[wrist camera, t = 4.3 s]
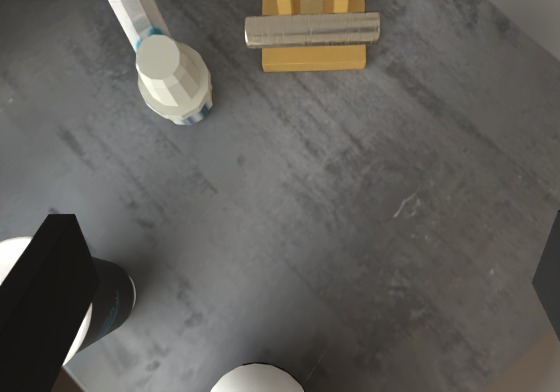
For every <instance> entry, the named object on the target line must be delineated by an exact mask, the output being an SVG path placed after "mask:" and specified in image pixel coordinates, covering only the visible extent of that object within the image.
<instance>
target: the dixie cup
mask: <svg viewBox="0 0 560 392" xmlns="http://www.w3.org/2000/svg"><path fill="white" fill-rule="evenodd" d="M32 238H33V237H32V236H23V237H15V238H11V239H8V240H5V241H2V242H0V285H1V283H2V282H3V281H4V279H5V278H6V276H7V275H8V273H9V272H10V270H11V269H12V267H13V266H14V264H15V263H16V261H17V260H18V259H19V257H20V256H21V254H22V253H23V251H24V250H25V248H26V247H27V245H28V244H29V242H30V241H31V240H32ZM92 259H93V262H94V264H95V267H96V269H97V272H98V275H99V277H100V280H101V284H100V286H99V288H98V290H97V292H96V295H95V297H94V299H93V301H92V303H91V305H90V308H89V310H88V312H87V314H86V316H85V318H84V320H83V323H82V325H81V327H80V329H79V331H78V333H77V335H76V338H75V340H74V342H73V344H72V346H71V348H70V351H69V353H68V355H67V357H66V359H65V361H64V363H63V365H65V364H66V363H67V362H68V361H69V360H70V359H71V358H72V356H73V355H74V354H76V353H78V352H79V351H81V350H83V349H84V348H86V347H88V346H89V345H91V344H92V343H94V342H96V341H97V340H99V339H101V338H102V337H104V336H105V335H107V334H109V333H110V332H112V331H114V330H115V329H117V328H118V327H120V326H121V325H122V324H123V323H124V322H125V321H126V319H127V318H128V316H129V315H130V313H131V311H132V309H133V307H134V304H135V299H136V291H135V286H134V283H133V281H132V279H131V277H130V276H129V275H128V274H127V273H126V271H125V270H124V269H122V268H121V267H120V266H118V265H117V264H115V263H112V262H109V261H105V260H102V259H98V258H95V257H92Z"/></svg>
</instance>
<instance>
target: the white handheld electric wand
mask: <svg viewBox="0 0 560 392" xmlns="http://www.w3.org/2000/svg"><path fill="white" fill-rule="evenodd" d="M108 1H109V3H110V5H111V6H112V8H113V10H114V12H115V14H116V16H117V18H118V20H119V21H120V23H121V25H122V27H123V29H124V31H125V33H126V35H127V37H128V38H129V40H130V42H131V44H132V46H133V48H134V50H135V52H136V68H137V70H138V72H139V75H138V87H139V89H140V92H141V94H142V96H143V98H144V100H145V102H146V104H147V105H148V106H149V107H150V108H151V109H153V110H154V111H155V112H157V113H158V114H160V115H161V116H163V117H164V118H167V119H170V120H172V121H173V122H174V123H175V124H182V125H192V124H194V123H196V122H198V121H200V120H202V119H204V118H205V117H206V115H207V113H208V112H209V110H210V108H211V107H212V105H213V104H212V88H213V87H212V85H211V74H210V73H209V71H208V69H207V67H206V65H205V63H204V61H203V59H202V57H201V56H200V54H199V53H198V52H197V51H195V50H193V49H192V48H190V47H189V46H187V45H186V44H184V43H178V42H176V41H175V40H173V38H172V36H171V34H170V32H169V30H168V28H167V26H166V24H165V21H164V19H163V17H162V15H161V13H160V11H159V9H158V7H157V5H156V2H155V0H108Z"/></svg>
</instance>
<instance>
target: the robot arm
mask: <svg viewBox="0 0 560 392" xmlns="http://www.w3.org/2000/svg"><path fill="white" fill-rule="evenodd" d="M100 284H101V280H100V277H99V275H98V272H97V269H96V267H95V264H94V262H93V259H92V257H91V254H90V252H89V249H88V246H87V244H86V241H85V239H84V236H83V234H82V231H81V229H80V226H79V223H78V221H77V218H76V216H75V214H49V215H48V216H47V218H46V219H45V220H44V222H43V223H42V225H41V226H40V228H39V229H38V231H37V232H36V234H35V235H34V237H33V238H32V240H31V241H30V242H29V244H28V245H27V247H26V248H25V250H24V251H23V253H22V254H21V256H20V257H19V259H18V260H17V261H16V263H15V264H14V266H13V267H12V269H11V270H10V272H9V273H8V275H7V276H6V278H5V279H4V281H3V282H2V283H1V285H0V392H50V391H51V389H52V387H53V385H54V383H55V380H56V379H57V376H58V374H59V372H60V370H61V368H62V366H63V363H64V361H65V359H66V357H67V355H68V353H69V351H70V348H71V346H72V344H73V342H74V340H75V338H76V335H77V333H78V331H79V329H80V327H81V325H82V323H83V320H84V318H85V316H86V314H87V312H88V310H89V308H90V305H91V303H92V301H93V299H94V297H95V295H96V292H97V290H98V288H99V286H100ZM532 285H533V287H534V289H535V291H536V293H537V295H538V297H539V299H540V301H541V303H542V306H543V308H544V310H545V312H546V314H547V316H548V318H549V320H550V322H551V324H552V326H553V328H554V330H555V332H556V335H557V337H558V339H559V341H560V210H558V213H557V216H556V218H555V221H554V224H553V226H552V229H551V232H550V235H549V237H548V240H547V243H546V245H545V248H544V251H543V254H542V256H541V259H540V262H539V264H538V267H537V270H536V273H535V275H534V278H533V281H532Z"/></svg>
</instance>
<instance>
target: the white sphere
mask: <svg viewBox="0 0 560 392" xmlns="http://www.w3.org/2000/svg"><path fill="white" fill-rule="evenodd" d="M325 351H326V350H325ZM321 358H322V357H321ZM319 361H320V360H319ZM313 370H314V369H313ZM310 375H311V374H310ZM308 378H309V377H308ZM211 392H305V390H304V388H303V387H302V385H301V384H300V383H299V382H298V381H297V379H296V378H295V377H294V376H292V375H291V374H290V373H289V372H287V371H285V370H284V369H282V368H280V367H278V366H275V365H272V364H268V363H260V362H254V363H247V364H243V366H240V367H237V368H236V369H234V370H232V371H230V372H229V373H227V374H225V375H224V376H223V377H222V378H221V379H220V380H219V381H218V382H217V384H216V385H215V386H214V387H213V388H212V390H211Z"/></svg>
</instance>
